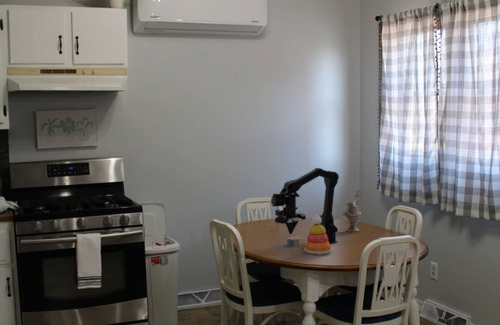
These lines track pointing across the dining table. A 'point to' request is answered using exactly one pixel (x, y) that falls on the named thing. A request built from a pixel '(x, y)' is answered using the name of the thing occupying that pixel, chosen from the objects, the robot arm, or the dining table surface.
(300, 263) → the dining table surface
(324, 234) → the stacking toy
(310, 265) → the dining table surface
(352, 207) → the decorative bust
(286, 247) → the mat
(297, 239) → the block
